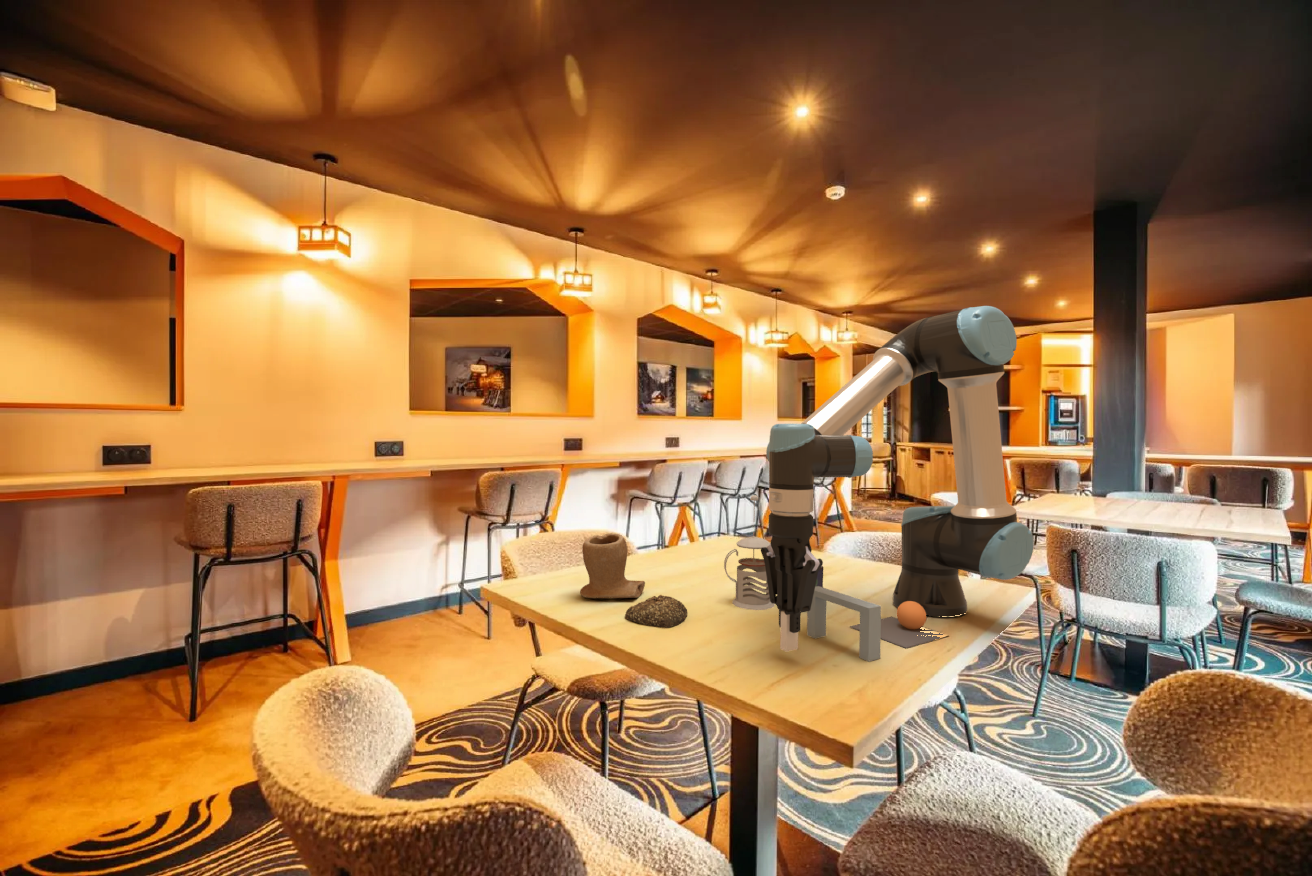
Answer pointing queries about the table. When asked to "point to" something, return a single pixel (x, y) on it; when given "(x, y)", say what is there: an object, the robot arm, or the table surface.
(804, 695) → the table surface
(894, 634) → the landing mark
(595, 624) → the table surface
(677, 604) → the bread roll
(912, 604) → the ball
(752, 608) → the french press
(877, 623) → the bridge
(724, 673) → the table surface
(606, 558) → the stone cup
